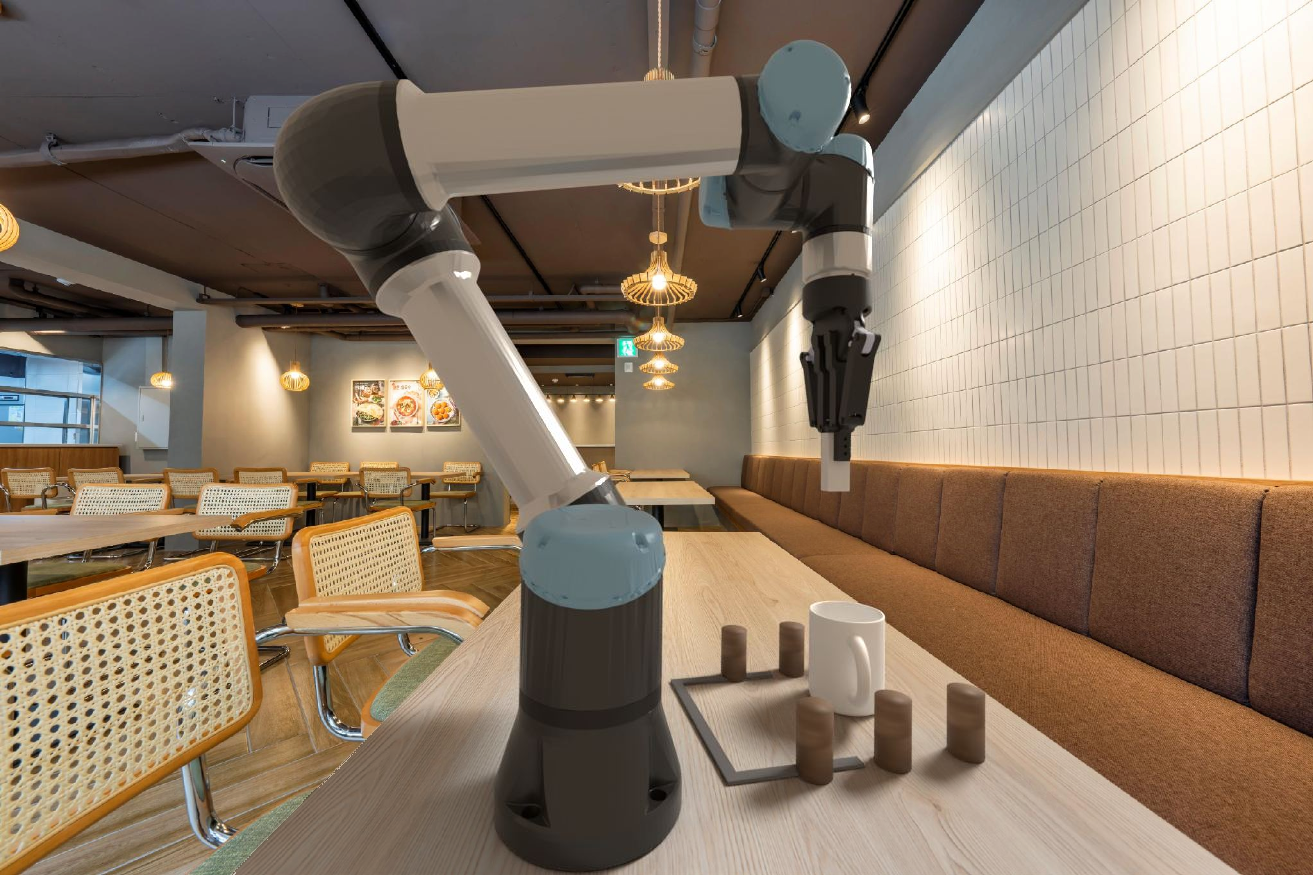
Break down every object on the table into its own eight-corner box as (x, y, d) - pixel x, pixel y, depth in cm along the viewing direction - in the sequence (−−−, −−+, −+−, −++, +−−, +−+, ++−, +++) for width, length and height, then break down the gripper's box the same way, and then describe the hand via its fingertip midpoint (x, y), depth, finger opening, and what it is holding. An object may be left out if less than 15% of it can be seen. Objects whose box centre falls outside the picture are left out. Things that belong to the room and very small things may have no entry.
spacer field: (806, 786, 45) (807, 716, 45) (717, 672, 67) (717, 625, 68) (993, 760, 49) (993, 696, 49) (850, 661, 72) (850, 617, 72)
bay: (728, 785, 45) (728, 781, 45) (670, 681, 65) (670, 679, 65) (864, 767, 48) (864, 763, 48) (769, 673, 67) (769, 670, 67)
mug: (907, 740, 52) (907, 637, 52) (822, 734, 53) (822, 632, 53) (872, 686, 64) (872, 602, 64) (803, 682, 65) (804, 599, 65)
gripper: (904, 266, 54) (903, 496, 53) (834, 300, 66) (833, 486, 66) (839, 259, 52) (837, 496, 51) (780, 296, 65) (778, 486, 64)
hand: (835, 490), depth 59 cm, fingers closed
